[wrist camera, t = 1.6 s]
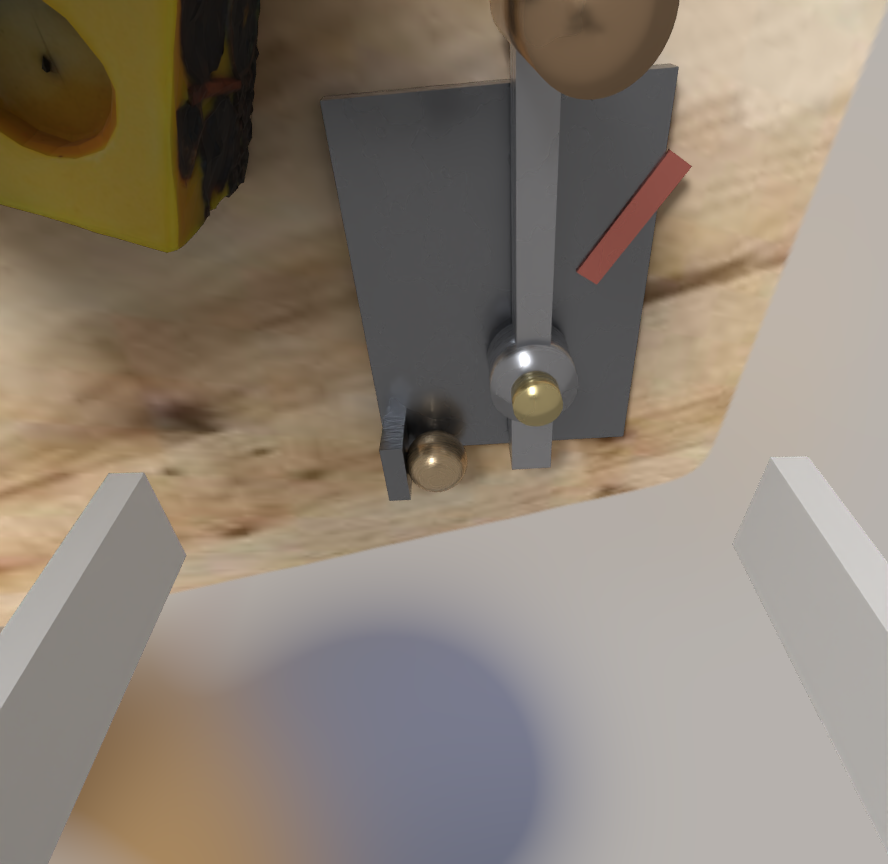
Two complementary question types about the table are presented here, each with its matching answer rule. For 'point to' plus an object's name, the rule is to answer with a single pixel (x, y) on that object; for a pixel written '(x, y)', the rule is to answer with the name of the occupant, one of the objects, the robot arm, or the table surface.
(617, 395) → the base
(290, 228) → the table surface
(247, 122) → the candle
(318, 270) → the table surface
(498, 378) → the lever
